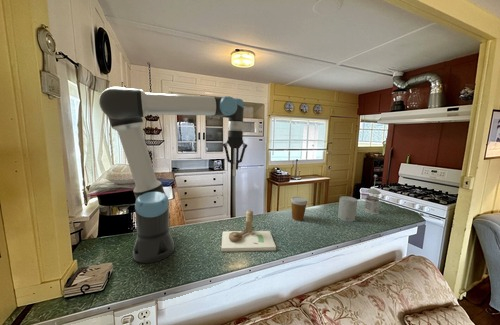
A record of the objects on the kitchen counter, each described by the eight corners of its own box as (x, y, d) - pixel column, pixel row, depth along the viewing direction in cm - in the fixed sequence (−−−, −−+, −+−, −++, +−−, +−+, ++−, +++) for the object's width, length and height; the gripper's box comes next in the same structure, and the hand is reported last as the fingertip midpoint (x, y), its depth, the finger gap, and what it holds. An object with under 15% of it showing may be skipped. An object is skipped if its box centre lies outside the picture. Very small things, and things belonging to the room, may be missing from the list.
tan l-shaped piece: (234, 242, 86) (235, 220, 85) (226, 237, 90) (226, 216, 89) (258, 231, 97) (258, 211, 95) (249, 227, 101) (249, 208, 99)
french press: (372, 208, 138) (377, 173, 134) (385, 215, 127) (390, 177, 123) (359, 208, 137) (363, 172, 134) (370, 215, 126) (375, 176, 122)
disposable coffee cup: (306, 223, 112) (308, 202, 111) (289, 221, 114) (290, 200, 112) (305, 216, 122) (307, 197, 120) (289, 214, 124) (290, 195, 122)
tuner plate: (221, 251, 83) (221, 247, 83) (222, 234, 97) (222, 231, 97) (275, 250, 86) (275, 246, 85) (269, 233, 99) (269, 230, 99)
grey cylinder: (334, 217, 121) (336, 198, 119) (341, 213, 128) (343, 195, 126) (351, 223, 114) (353, 202, 112) (357, 218, 121) (360, 199, 119)
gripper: (222, 129, 99) (221, 176, 102) (248, 130, 100) (247, 177, 103) (223, 129, 106) (222, 173, 109) (247, 130, 107) (246, 174, 110)
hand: (234, 175), depth 106 cm, fingers closed
